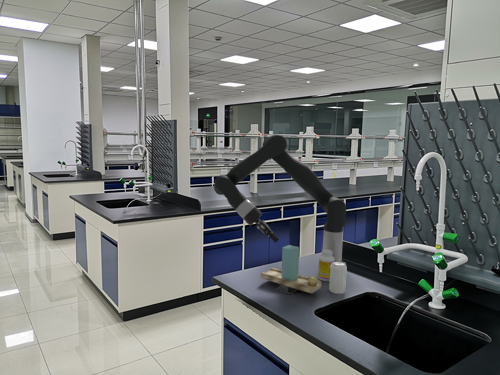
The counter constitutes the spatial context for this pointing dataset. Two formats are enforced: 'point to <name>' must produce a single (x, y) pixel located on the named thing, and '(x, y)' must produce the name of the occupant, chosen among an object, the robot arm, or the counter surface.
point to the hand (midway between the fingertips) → (277, 241)
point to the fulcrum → (286, 289)
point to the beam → (298, 283)
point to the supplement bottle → (325, 265)
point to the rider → (290, 262)
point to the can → (338, 277)
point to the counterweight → (312, 281)
